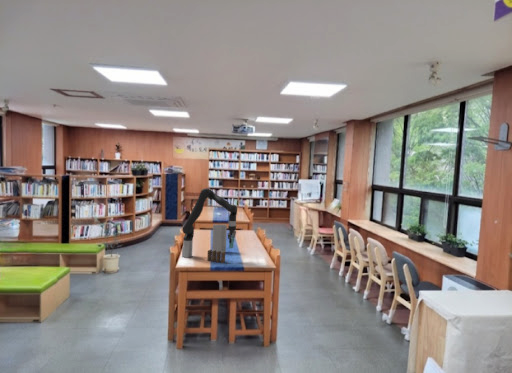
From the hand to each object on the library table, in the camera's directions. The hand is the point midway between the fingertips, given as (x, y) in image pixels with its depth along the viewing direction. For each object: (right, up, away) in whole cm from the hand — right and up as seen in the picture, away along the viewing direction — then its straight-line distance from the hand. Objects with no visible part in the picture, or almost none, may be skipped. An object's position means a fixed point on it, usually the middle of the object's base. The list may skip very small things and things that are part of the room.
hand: (231, 242), depth 307 cm
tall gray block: (-16, -17, +32) cm, 40 cm away
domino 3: (-13, -19, -2) cm, 23 cm away
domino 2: (-17, -19, 0) cm, 25 cm away
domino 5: (0, -6, 0) cm, 6 cm away
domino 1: (-22, -18, +2) cm, 29 cm away
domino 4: (-8, -19, -4) cm, 21 cm away
